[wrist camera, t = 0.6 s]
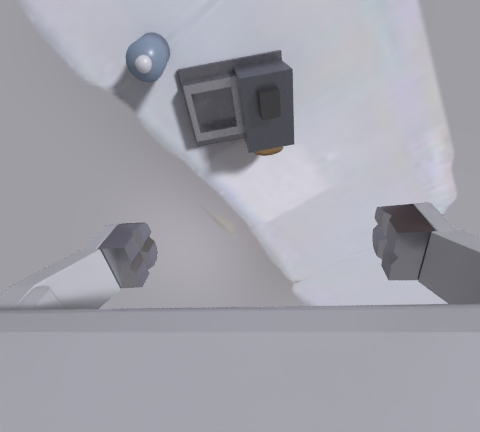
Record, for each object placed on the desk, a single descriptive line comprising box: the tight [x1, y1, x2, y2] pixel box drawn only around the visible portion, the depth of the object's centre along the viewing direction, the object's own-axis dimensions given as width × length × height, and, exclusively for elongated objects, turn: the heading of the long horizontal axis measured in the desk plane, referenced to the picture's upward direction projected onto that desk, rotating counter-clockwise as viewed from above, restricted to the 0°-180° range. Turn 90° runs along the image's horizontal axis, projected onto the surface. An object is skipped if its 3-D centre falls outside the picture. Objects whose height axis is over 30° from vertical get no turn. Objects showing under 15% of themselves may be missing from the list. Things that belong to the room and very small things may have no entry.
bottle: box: [126, 33, 170, 82], centre depth 41 cm, size 5×5×12 cm
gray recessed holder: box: [177, 50, 294, 156], centre depth 48 cm, size 15×18×12 cm
